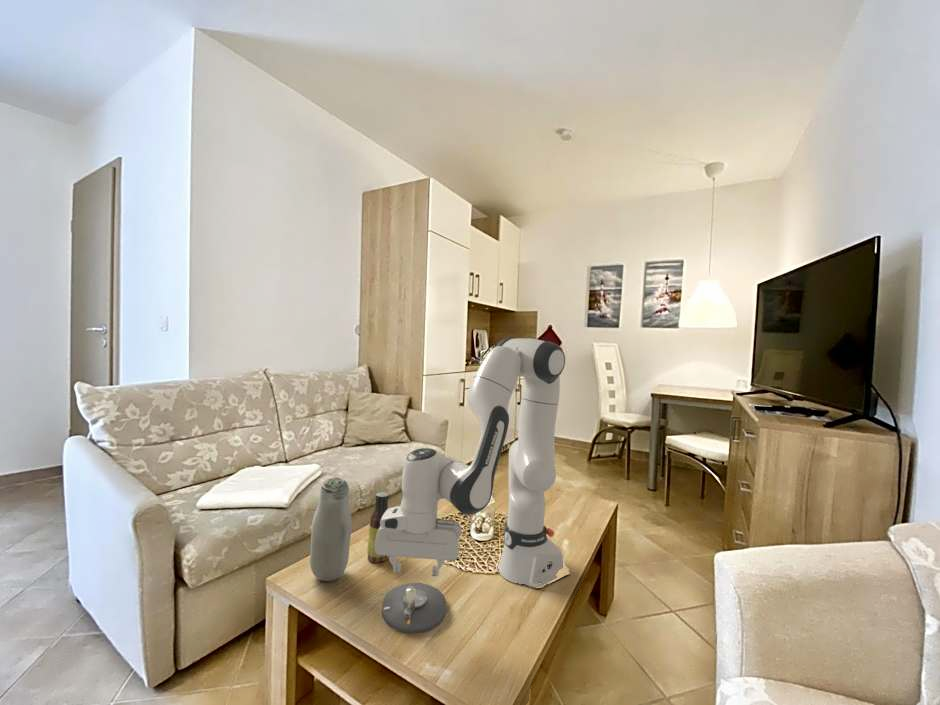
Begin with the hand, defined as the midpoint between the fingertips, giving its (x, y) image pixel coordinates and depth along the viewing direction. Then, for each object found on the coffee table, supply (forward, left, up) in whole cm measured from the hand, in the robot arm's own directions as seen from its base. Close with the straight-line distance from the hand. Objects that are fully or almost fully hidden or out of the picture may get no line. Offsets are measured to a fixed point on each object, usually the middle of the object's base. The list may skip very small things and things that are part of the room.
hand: (416, 573), depth 97 cm
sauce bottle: (+1, -30, -12) cm, 32 cm away
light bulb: (-1, -2, -10) cm, 10 cm away
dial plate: (-2, -4, -12) cm, 13 cm away
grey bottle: (+16, -25, -12) cm, 32 cm away
